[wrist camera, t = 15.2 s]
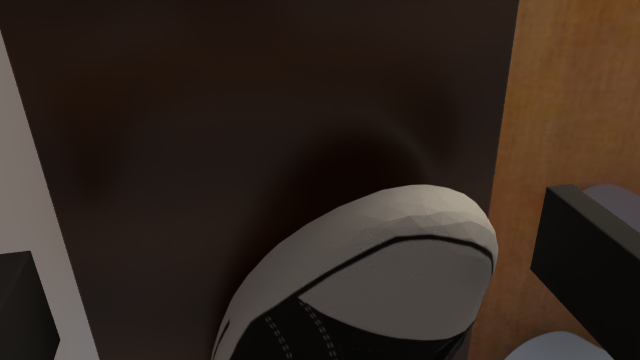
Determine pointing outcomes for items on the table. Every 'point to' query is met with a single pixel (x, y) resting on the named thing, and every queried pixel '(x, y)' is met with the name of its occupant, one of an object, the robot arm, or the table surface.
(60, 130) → the shoe rack
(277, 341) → the sneaker
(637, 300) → the robot arm
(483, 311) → the table surface
